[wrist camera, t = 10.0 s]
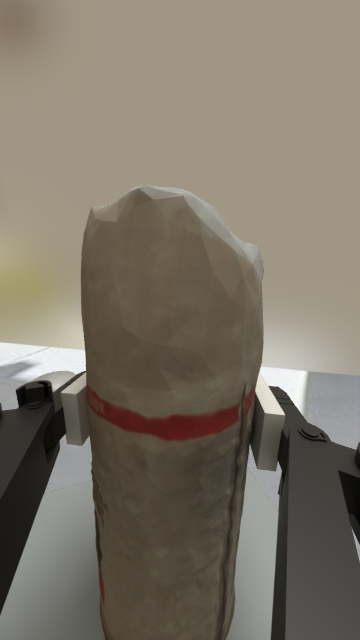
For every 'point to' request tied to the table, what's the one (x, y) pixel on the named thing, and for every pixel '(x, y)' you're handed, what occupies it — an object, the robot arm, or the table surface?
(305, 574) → the robot arm
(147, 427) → the red-banded paper cylinder
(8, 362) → the table surface
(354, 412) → the table surface
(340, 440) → the table surface
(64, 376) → the white rounded cylinder
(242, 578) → the slate board
